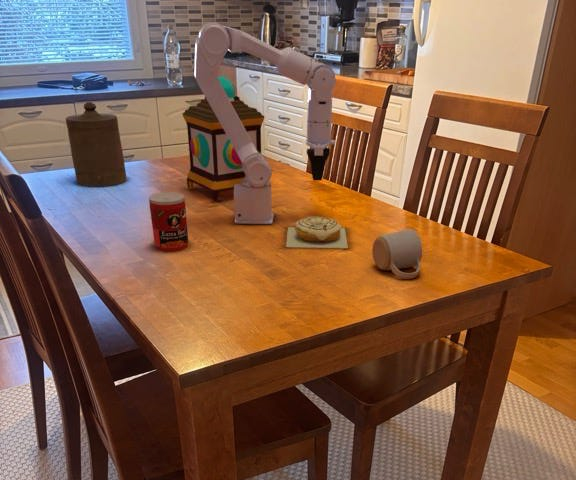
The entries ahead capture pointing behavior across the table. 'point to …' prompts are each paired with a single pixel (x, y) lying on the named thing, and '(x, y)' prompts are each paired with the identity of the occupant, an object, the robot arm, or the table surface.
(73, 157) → the wooden container
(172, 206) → the canned food
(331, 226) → the decorated donut
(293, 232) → the placemat
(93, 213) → the table surface
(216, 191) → the decorative lantern
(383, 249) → the ceramic mug
